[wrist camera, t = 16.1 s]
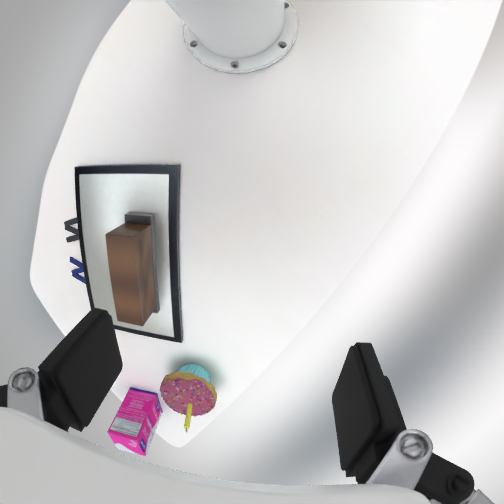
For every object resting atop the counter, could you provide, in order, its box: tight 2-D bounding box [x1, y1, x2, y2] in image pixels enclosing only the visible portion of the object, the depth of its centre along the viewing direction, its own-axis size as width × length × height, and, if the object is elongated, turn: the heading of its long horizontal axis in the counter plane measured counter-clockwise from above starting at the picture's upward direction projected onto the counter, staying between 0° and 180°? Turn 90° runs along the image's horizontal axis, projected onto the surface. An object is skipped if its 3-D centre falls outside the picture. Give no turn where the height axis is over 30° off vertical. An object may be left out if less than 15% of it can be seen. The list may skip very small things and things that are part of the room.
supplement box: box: [108, 388, 162, 456], centre depth 40 cm, size 6×6×12 cm
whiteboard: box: [75, 165, 183, 343], centre depth 35 cm, size 24×15×1 cm, turn 176°
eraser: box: [105, 213, 160, 326], centre depth 32 cm, size 13×4×6 cm, turn 176°
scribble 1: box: [64, 218, 79, 242], centre depth 35 cm, size 4×3×1 cm
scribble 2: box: [70, 257, 86, 284], centre depth 37 cm, size 4×3×1 cm
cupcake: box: [160, 364, 217, 432], centre depth 36 cm, size 9×8×12 cm
